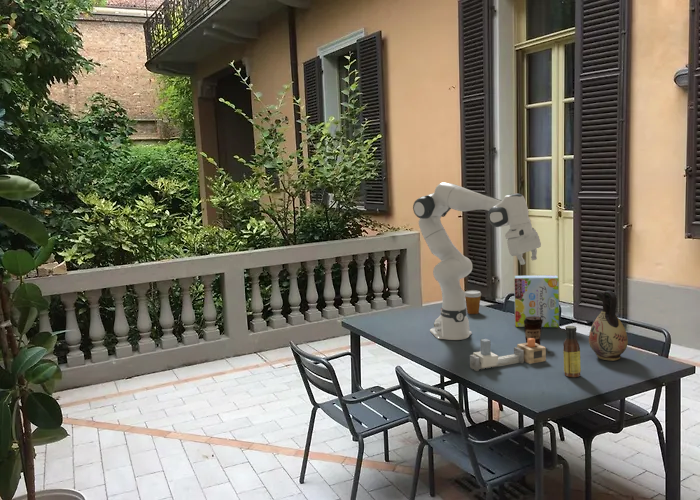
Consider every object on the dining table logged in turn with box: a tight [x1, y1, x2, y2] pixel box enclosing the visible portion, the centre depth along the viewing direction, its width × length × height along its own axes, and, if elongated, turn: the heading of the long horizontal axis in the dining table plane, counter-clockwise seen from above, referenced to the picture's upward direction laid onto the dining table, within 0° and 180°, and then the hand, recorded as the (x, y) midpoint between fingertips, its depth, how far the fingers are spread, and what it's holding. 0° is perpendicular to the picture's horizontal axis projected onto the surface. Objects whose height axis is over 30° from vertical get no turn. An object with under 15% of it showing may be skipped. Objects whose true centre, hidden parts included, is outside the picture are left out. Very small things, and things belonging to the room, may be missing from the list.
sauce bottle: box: [562, 325, 582, 378], centre depth 240 cm, size 7×6×20 cm
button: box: [527, 338, 535, 348], centre depth 262 cm, size 3×3×5 cm
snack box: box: [513, 274, 560, 328], centre depth 311 cm, size 22×9×26 cm, turn 76°
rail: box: [469, 346, 525, 372], centre depth 257 cm, size 5×23×6 cm, turn 109°
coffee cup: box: [524, 316, 543, 345], centre depth 281 cm, size 9×8×13 cm
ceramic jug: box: [588, 289, 629, 361], centre depth 258 cm, size 17×15×30 cm
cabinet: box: [516, 342, 547, 365], centre depth 262 cm, size 9×8×6 cm
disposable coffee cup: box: [464, 289, 482, 315], centre depth 342 cm, size 10×10×12 cm
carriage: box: [472, 338, 499, 368], centre depth 254 cm, size 8×7×10 cm
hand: (528, 262), depth 261 cm, fingers open, 8 cm apart
